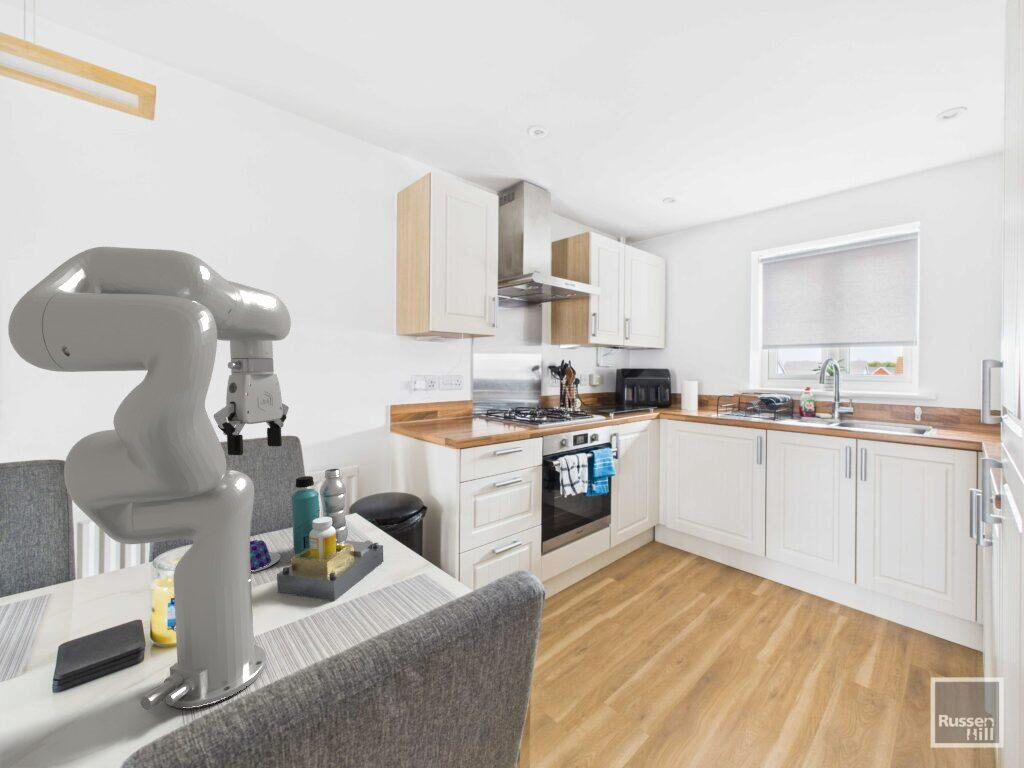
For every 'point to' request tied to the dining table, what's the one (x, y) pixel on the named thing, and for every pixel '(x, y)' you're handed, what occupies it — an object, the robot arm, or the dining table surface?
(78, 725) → the dining table surface
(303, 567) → the grey tray with box
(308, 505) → the beverage bottle
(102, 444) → the robot arm
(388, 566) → the dining table surface
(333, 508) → the plastic bottle
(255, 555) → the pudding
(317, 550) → the supplement bottle
